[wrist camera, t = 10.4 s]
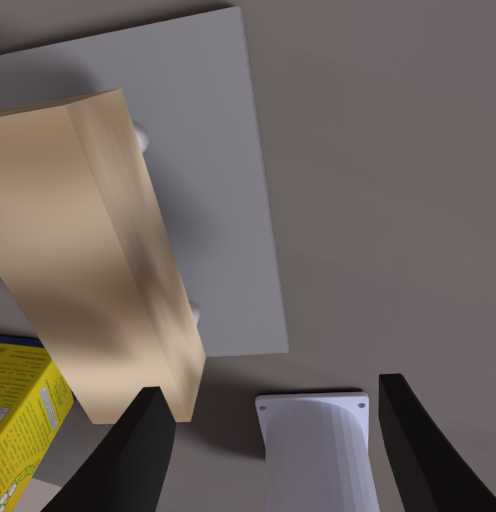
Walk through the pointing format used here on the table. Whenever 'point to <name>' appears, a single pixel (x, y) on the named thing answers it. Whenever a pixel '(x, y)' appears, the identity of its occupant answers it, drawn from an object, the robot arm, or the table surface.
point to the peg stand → (186, 158)
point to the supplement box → (27, 412)
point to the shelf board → (94, 255)
